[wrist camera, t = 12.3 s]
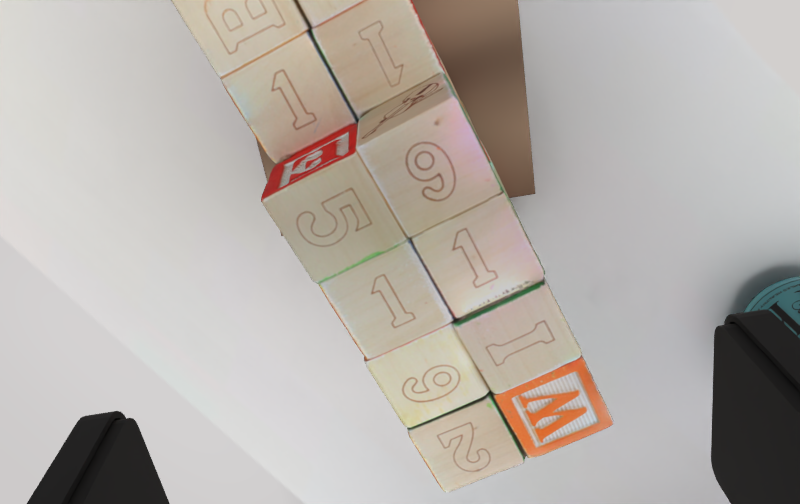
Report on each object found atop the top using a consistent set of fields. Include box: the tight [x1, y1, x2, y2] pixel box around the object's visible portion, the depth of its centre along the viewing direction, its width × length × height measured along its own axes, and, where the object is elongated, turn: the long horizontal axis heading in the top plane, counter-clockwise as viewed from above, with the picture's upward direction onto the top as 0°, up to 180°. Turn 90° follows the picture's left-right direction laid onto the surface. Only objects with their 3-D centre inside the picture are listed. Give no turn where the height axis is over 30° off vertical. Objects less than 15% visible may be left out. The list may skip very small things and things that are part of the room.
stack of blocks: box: [171, 0, 614, 492], centre depth 25 cm, size 21×6×12 cm, turn 27°
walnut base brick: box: [256, 0, 535, 236], centre depth 33 cm, size 10×12×5 cm
